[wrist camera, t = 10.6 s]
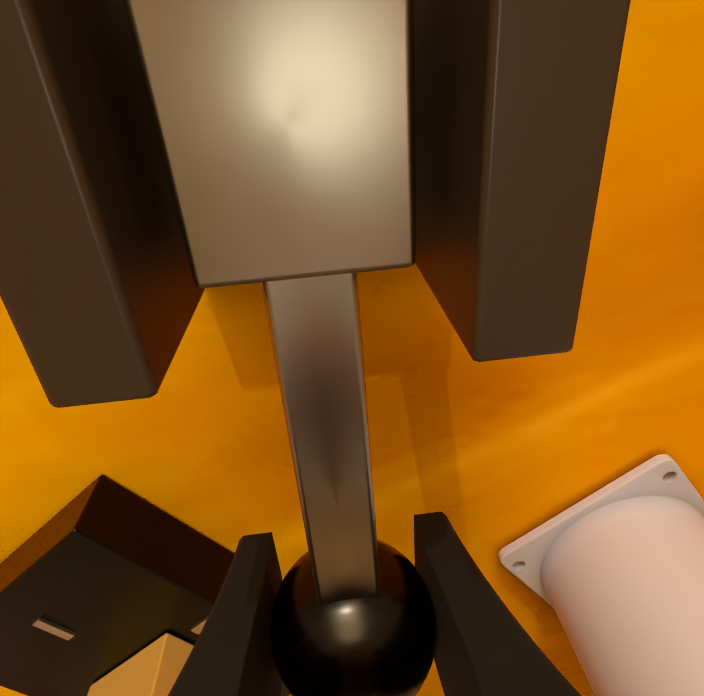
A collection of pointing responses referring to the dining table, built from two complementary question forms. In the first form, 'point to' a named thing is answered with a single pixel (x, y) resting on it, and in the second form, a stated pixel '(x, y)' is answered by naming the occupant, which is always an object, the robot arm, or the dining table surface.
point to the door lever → (305, 278)
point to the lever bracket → (430, 168)
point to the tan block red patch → (146, 670)
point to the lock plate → (102, 591)
